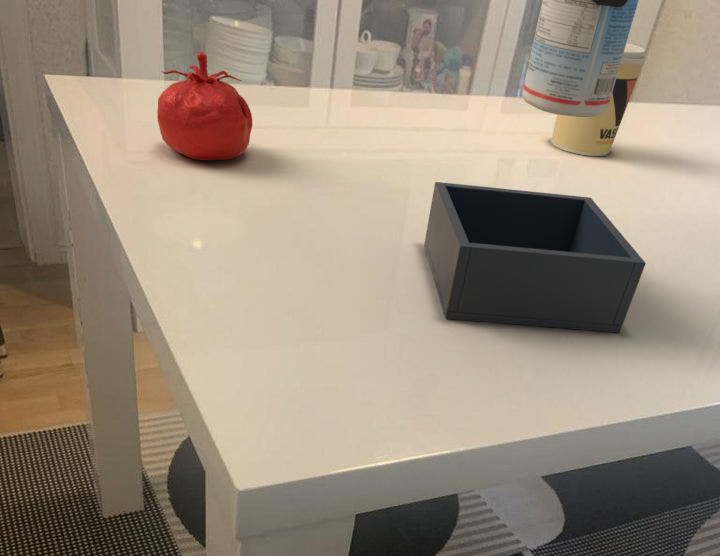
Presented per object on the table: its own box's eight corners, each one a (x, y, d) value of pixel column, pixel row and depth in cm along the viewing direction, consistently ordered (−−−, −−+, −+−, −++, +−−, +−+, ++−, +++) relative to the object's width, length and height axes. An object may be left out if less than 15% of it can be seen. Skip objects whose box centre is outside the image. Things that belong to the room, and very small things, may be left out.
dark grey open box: (571, 259, 67) (590, 197, 63) (620, 333, 56) (646, 263, 53) (423, 246, 65) (435, 181, 61) (445, 318, 55) (460, 245, 51)
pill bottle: (582, 99, 55) (633, -89, 48) (620, 122, 51) (683, -82, 44) (507, 93, 54) (548, -101, 47) (539, 116, 49) (591, -95, 42)
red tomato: (179, 171, 73) (174, 66, 67) (143, 141, 79) (136, 42, 73) (269, 165, 77) (272, 66, 72) (228, 136, 84) (228, 43, 78)
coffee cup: (603, 163, 93) (636, 55, 85) (534, 144, 96) (561, 39, 89) (623, 149, 100) (656, 48, 92) (558, 132, 103) (585, 33, 95)
